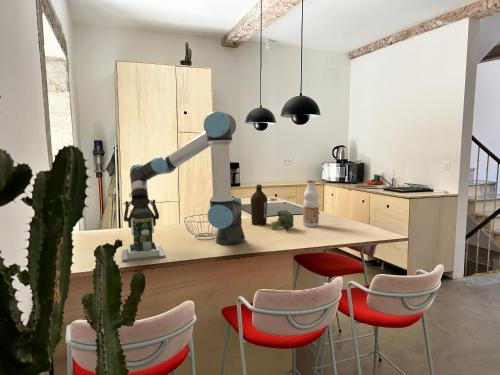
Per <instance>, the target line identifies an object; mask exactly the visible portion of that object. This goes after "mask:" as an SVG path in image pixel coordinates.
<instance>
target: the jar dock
mask: <svg viewBox="0 0 500 375" xmlns="http://www.w3.org/2000/svg"><path fill="white" fill-rule="evenodd" d="M152 242H153V249H152V250H148V251H136V250H135V249H134V243H128V244H127V248H126V249H122V255H121V257H122V259H121V260H122V262H123V263H124V262H126V261H128V262H134V261H135V262H136V261H137V262H138V261H144V260H153V259H163V257H165V258H166V253H165V251H164V249H163V247H162V245H158V243H157V241H152ZM126 263H127V262H126Z"/></svg>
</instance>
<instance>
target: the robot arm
mask: <svg viewBox="0 0 500 375" xmlns="http://www.w3.org/2000/svg"><path fill="white" fill-rule="evenodd" d="M203 120H204V121H203V132H201V134H199V135H198V136H196V137H195V138H193V139H191V140H190V141H188V142H187V143H186V144H184V145H182V146H181V147H179V148H178V149H176V150H175V151H173V152H172V153H170V154H169V155H166V156H165V157H162V156H157V157H155V158H153V159H151V160H150V161H148V162H146V163H145V164H140V163H139V164H138V163H137V164H134V165H132V166H131V167H130V169H129V178H130V191H131V201H128V200H127V201H124V203H125V204H124V206H125V210H124V214H123V221H124V222H127V224H128V225H127V226H128V228H130V229H131V230H130V232H131V235H132V236H133V218H132V214H133V211H134V210H136V209H143V208H144V209H146V210H148V211H150V212H151V216H152V234H154V233H155V227H156V224H157V222H156V220H159V219H160V213H159V211H158V208H157V205H156V199H152V200H150V199H149V193H148V181H149V180H151V179H153V178H154V177H156V176H160V175H165V174H171V173H173V172H175V170H176V169H177V168H178V167H180V166H181V165H183V164H184V163H186V162H188V161H189V160H190V159H192V158H194V157H196V156H197V155H199V154H200V153H202V152H203V151H205V150H207V149H208V148H210V158H211V159H210V160H211V180H212V181H211V182H212V183H211V184H212V197H210V199H209V209H208V211H207V221H208V222H209V224H210V225H211V226H212V227H213V228H215V229H217V231H216V235H215V242H216V243H218V244H219V245H228V246H229V245H230V246H232V245H240V244H243V243H244V242H246V236H245V232H244V229H243V227H242V225H243V224H242V205H243V204H242V199H241V197H233V196H232V189H231V165H230V164H231V159H230V156H231V155H230V144H231V143H232V142H233V135H234V133H235V131H236V129H237V124H236V123H237V122H236V120H235V118H234V117H233V116H232V115H231V114H228V113H225V112H223V111H212V112H210V113H209V114H207V115H206V117H205V118H204V119H203ZM149 204H150V206H152V209H153V211H152V209H151V208H150V207H149ZM131 205H132V206H133V207H132V210H131V211H130V214H129V207H131ZM153 212H154V213H153Z"/></svg>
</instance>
